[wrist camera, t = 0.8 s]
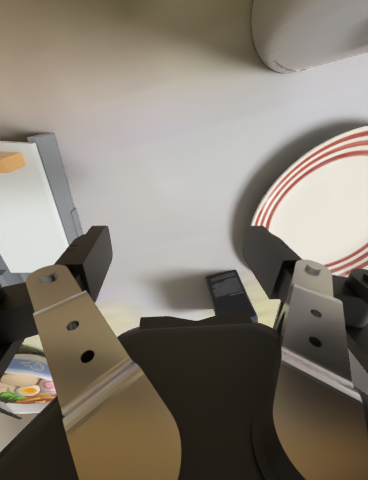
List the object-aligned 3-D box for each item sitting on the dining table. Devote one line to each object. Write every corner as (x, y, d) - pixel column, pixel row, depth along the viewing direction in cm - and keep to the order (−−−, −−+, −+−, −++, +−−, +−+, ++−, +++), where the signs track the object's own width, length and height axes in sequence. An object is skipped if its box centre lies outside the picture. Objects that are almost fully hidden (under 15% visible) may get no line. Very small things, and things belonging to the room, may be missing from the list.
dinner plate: (242, 287, 41) (247, 300, 38) (244, 143, 25) (254, 148, 22) (374, 263, 40) (390, 275, 37) (460, 102, 24) (498, 101, 22)
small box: (242, 302, 43) (262, 351, 34) (214, 309, 44) (226, 359, 35) (237, 268, 37) (260, 317, 28) (204, 276, 38) (216, 327, 29)
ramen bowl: (97, 374, 56) (88, 411, 49) (18, 386, 56) (-1, 424, 49) (52, 324, 42) (30, 366, 35) (-53, 341, 42) (-94, 386, 35)
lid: (-59, 137, 18) (-103, 143, 15) (35, 142, 19) (11, 149, 16) (14, 268, 27) (-4, 288, 24) (76, 268, 28) (65, 287, 25)
